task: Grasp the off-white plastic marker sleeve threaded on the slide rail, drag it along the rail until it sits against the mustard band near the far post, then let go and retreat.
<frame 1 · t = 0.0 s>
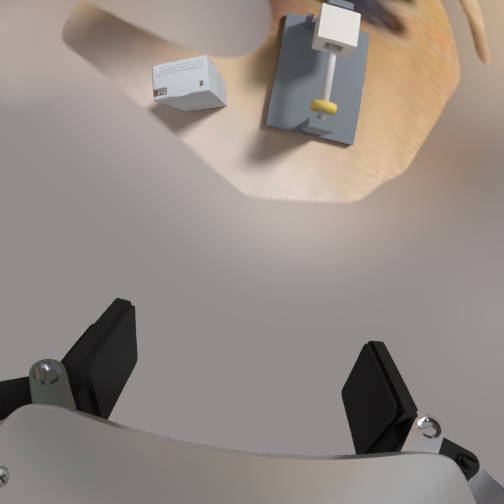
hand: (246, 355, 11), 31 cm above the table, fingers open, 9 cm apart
sleeve: (335, 30, 26), point 7 cm above the table, slide at 0.0 cm
skincare box: (204, 96, 35), on the table
slide rail: (320, 75, 34), on the table
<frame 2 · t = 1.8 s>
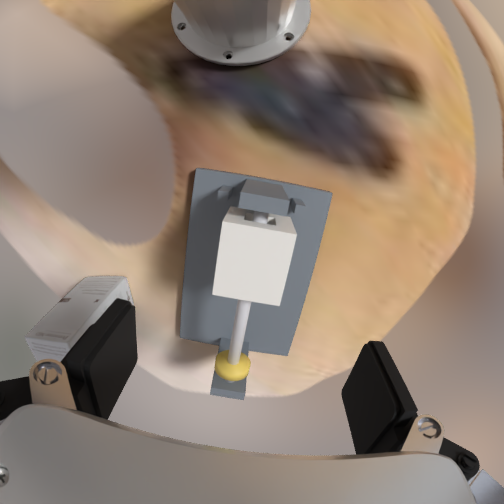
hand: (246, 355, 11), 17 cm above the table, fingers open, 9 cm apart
sleeve: (253, 253, 20), point 7 cm above the table, slide at 0.0 cm
skincare box: (109, 292, 30), on the table
slide rail: (247, 270, 28), on the table
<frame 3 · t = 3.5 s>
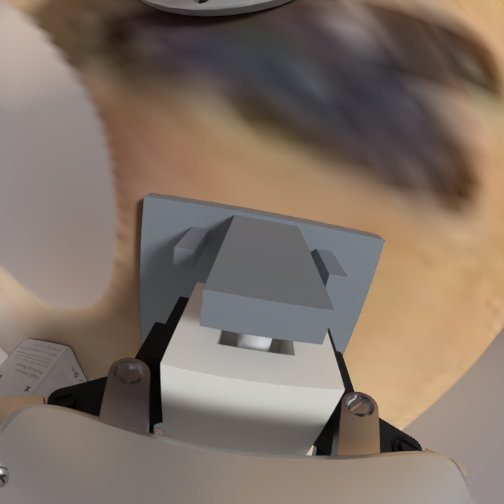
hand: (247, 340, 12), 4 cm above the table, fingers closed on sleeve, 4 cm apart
sleeve: (243, 385, 9), point 7 cm above the table, slide at 0.0 cm, touching gripper
skincare box: (56, 360, 19), on the table
slide rail: (239, 354, 17), on the table
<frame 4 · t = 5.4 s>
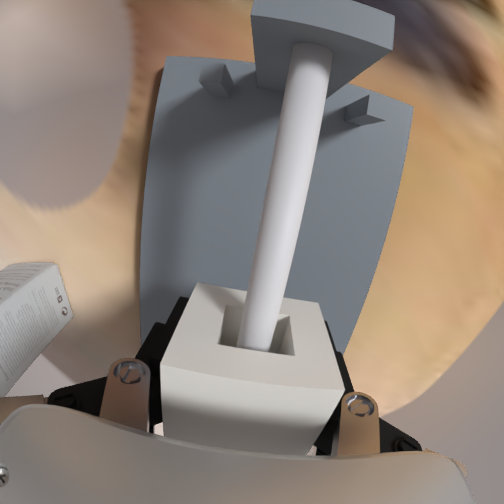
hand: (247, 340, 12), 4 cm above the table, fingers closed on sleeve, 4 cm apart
sleeve: (243, 385, 9), point 7 cm above the table, slide at 7.0 cm, touching gripper
skincare box: (40, 289, 17), on the table
slide rail: (259, 250, 15), on the table
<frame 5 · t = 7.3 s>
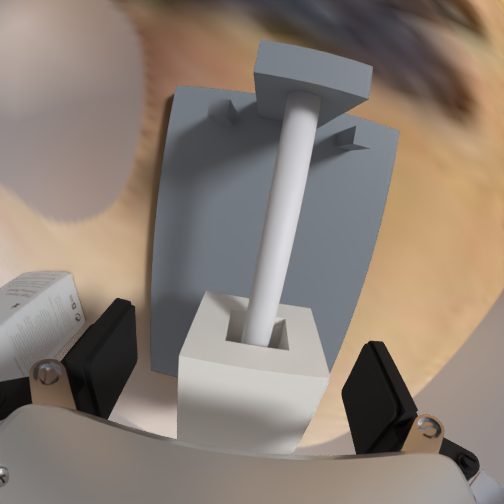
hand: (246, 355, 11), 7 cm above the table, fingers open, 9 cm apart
sleeve: (246, 379, 11), point 7 cm above the table, slide at 7.0 cm
skincare box: (53, 297, 18), on the table
slide rail: (260, 262, 17), on the table
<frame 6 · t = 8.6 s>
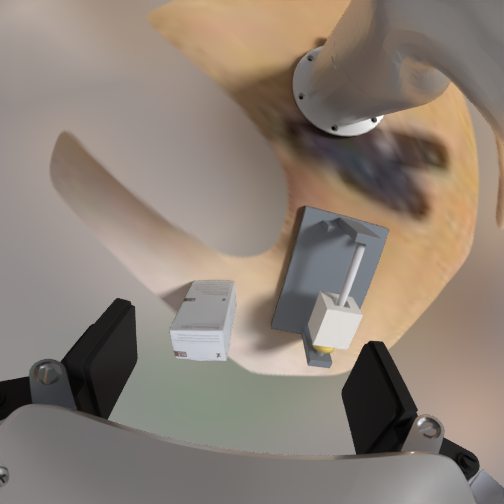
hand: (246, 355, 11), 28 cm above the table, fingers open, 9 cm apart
sleeve: (333, 320, 34), point 7 cm above the table, slide at 7.0 cm
skincare box: (214, 293, 41), on the table
slide rail: (328, 278, 40), on the table
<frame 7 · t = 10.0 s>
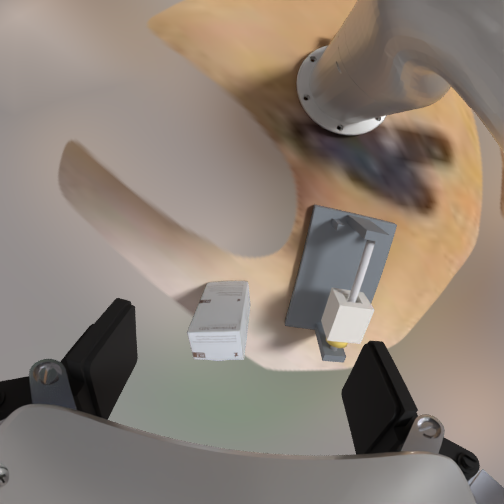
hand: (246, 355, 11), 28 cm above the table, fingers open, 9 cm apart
sleeve: (346, 315, 34), point 7 cm above the table, slide at 7.0 cm
skincare box: (228, 294, 42), on the table
slide rail: (339, 274, 40), on the table
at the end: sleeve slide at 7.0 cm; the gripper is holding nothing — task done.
